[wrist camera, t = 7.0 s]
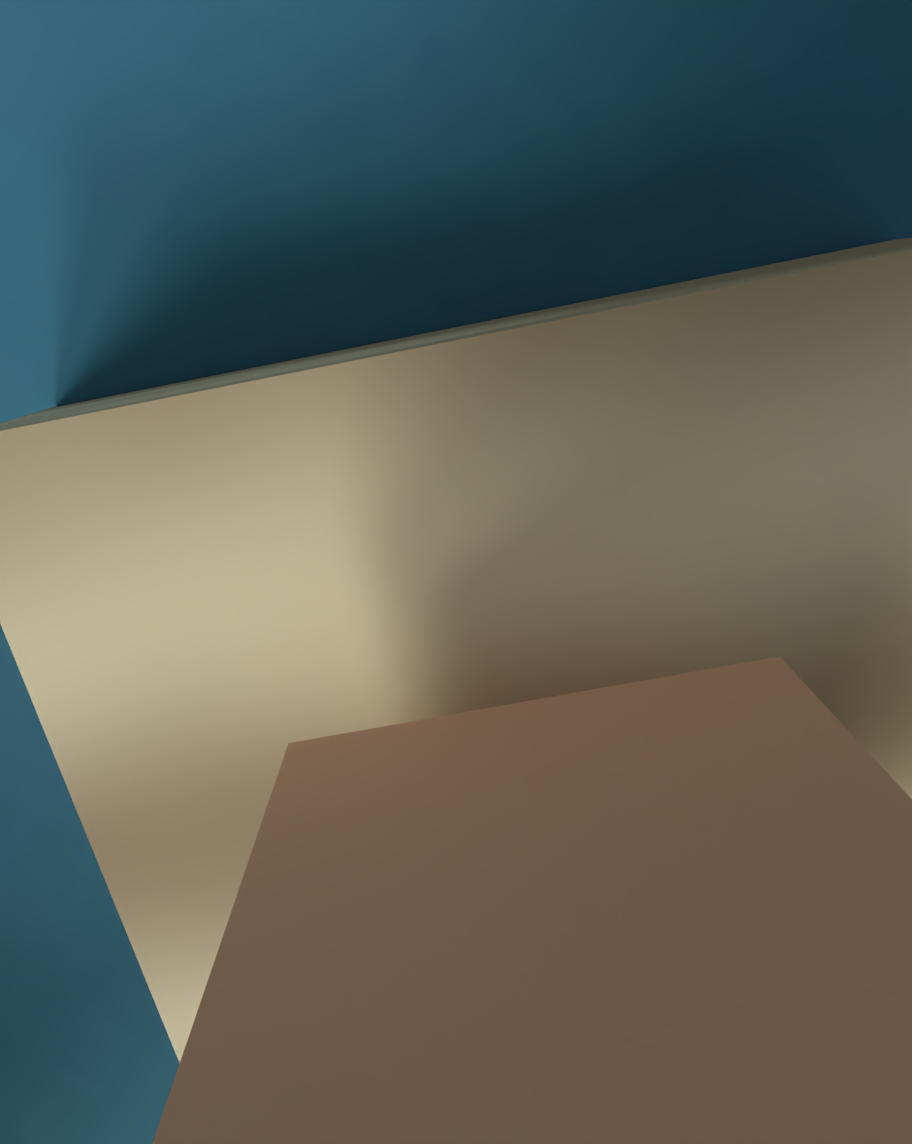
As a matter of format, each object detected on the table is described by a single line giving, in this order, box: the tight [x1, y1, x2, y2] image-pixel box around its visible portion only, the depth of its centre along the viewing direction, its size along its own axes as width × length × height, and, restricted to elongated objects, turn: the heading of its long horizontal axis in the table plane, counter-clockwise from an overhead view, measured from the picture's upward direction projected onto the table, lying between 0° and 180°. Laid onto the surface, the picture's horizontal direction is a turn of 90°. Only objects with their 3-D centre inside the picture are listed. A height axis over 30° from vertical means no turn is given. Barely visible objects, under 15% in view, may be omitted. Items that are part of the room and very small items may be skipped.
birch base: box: [0, 238, 912, 1063], centre depth 12 cm, size 12×12×3 cm
